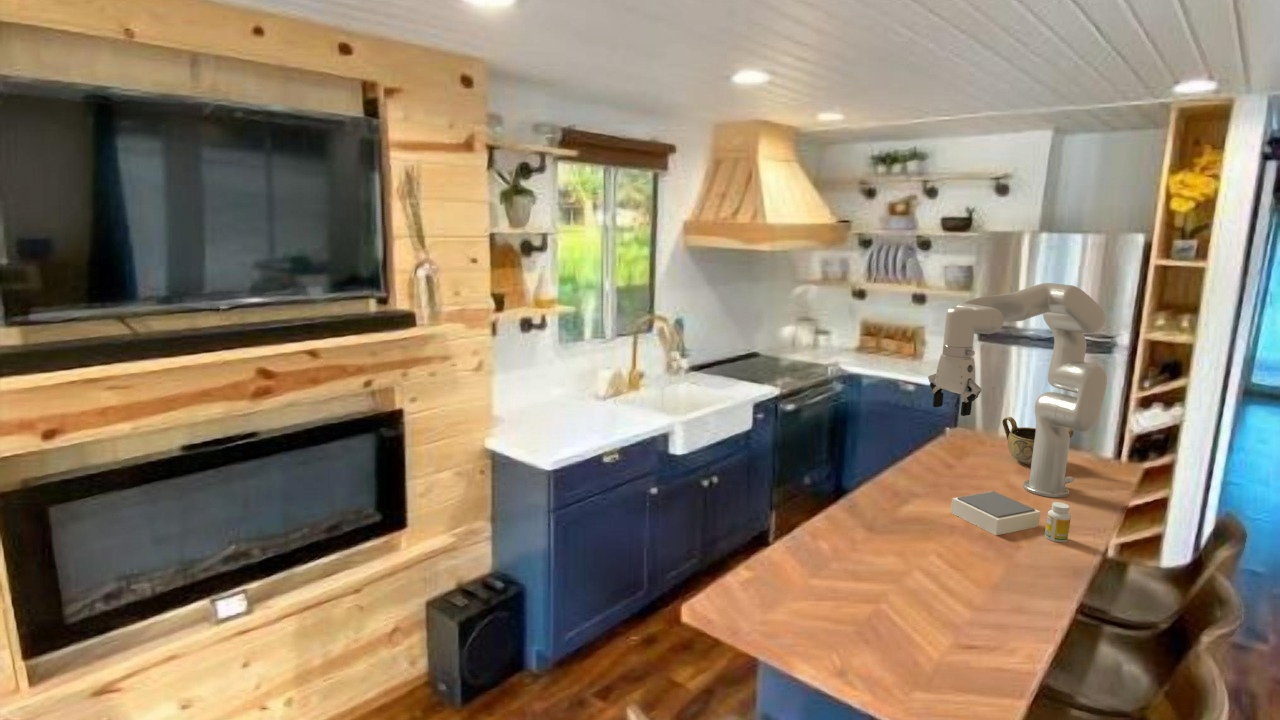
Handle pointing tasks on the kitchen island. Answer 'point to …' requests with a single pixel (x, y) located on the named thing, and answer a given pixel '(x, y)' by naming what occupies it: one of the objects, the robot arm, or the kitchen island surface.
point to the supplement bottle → (1058, 522)
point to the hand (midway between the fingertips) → (951, 410)
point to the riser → (995, 512)
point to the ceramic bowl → (1021, 440)
